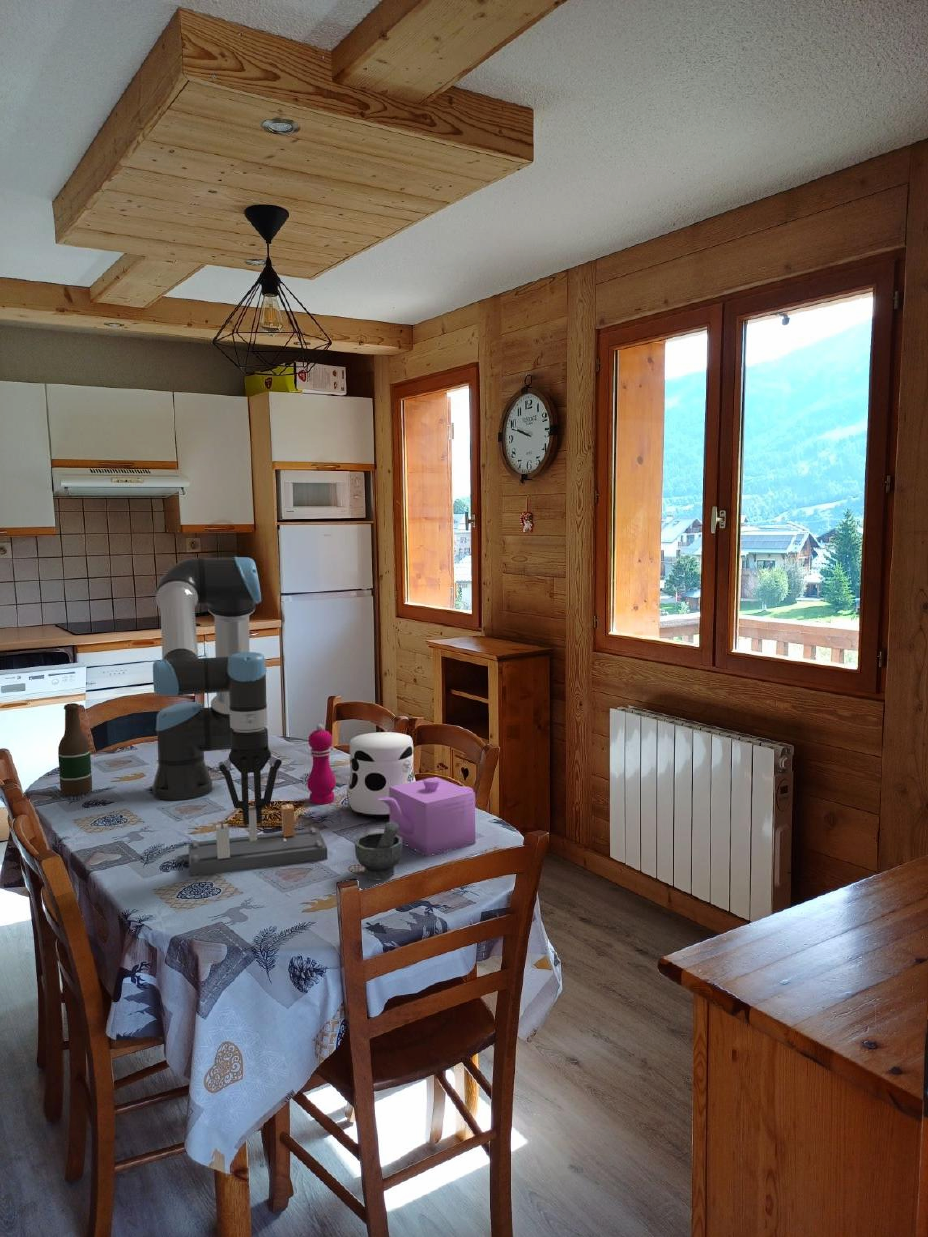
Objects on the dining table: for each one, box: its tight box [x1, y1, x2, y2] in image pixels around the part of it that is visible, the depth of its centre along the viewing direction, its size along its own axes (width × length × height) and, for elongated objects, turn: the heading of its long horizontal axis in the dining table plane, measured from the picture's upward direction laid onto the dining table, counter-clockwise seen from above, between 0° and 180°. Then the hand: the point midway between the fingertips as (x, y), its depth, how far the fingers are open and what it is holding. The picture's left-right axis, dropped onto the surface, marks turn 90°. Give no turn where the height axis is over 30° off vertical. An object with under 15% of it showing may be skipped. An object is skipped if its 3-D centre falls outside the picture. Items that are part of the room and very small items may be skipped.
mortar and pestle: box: [354, 821, 403, 880], centre depth 179 cm, size 11×9×12 cm
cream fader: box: [215, 823, 230, 859], centre depth 183 cm, size 3×2×6 cm
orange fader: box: [280, 803, 296, 837], centre depth 196 cm, size 3×2×6 cm
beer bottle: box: [57, 702, 93, 797], centre depth 236 cm, size 8×8×24 cm
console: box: [187, 826, 328, 877], centre depth 190 cm, size 13×28×3 cm, turn 108°
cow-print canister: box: [346, 731, 417, 818], centre depth 218 cm, size 17×17×18 cm
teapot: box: [378, 776, 477, 857], centre depth 198 cm, size 15×25×14 cm, turn 126°
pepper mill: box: [306, 723, 337, 805], centre depth 227 cm, size 7×7×20 cm
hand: (253, 838), depth 186 cm, fingers closed
